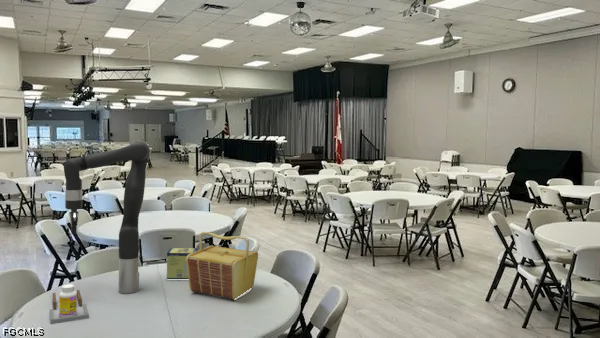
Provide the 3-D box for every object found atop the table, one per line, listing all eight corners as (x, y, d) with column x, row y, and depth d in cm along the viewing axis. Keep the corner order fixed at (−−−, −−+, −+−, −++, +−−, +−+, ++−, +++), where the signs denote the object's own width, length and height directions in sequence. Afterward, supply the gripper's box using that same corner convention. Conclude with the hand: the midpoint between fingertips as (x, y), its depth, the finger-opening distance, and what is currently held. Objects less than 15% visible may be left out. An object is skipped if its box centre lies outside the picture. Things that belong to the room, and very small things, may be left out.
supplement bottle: (70, 318, 195) (70, 289, 194) (56, 317, 196) (55, 287, 195) (79, 312, 202) (79, 284, 201) (65, 311, 203) (65, 283, 202)
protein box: (169, 274, 259) (169, 247, 258) (197, 275, 261) (198, 248, 260) (166, 280, 249) (166, 252, 248) (195, 280, 250) (195, 252, 249)
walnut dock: (79, 296, 220) (79, 289, 220) (81, 306, 209) (81, 298, 209) (52, 300, 215) (52, 293, 214) (53, 310, 203) (53, 302, 203)
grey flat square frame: (85, 307, 208) (85, 304, 208) (88, 317, 196) (88, 314, 196) (49, 312, 201) (49, 309, 200) (50, 323, 189) (50, 320, 189)
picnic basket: (183, 295, 227) (184, 235, 225) (211, 280, 251) (213, 226, 249) (234, 305, 217) (236, 242, 214) (259, 289, 240) (261, 232, 238)
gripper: (83, 200, 221) (83, 235, 222) (81, 196, 232) (81, 230, 233) (66, 201, 217) (66, 237, 218) (64, 197, 228) (64, 231, 229)
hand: (74, 233), depth 226 cm, fingers closed
